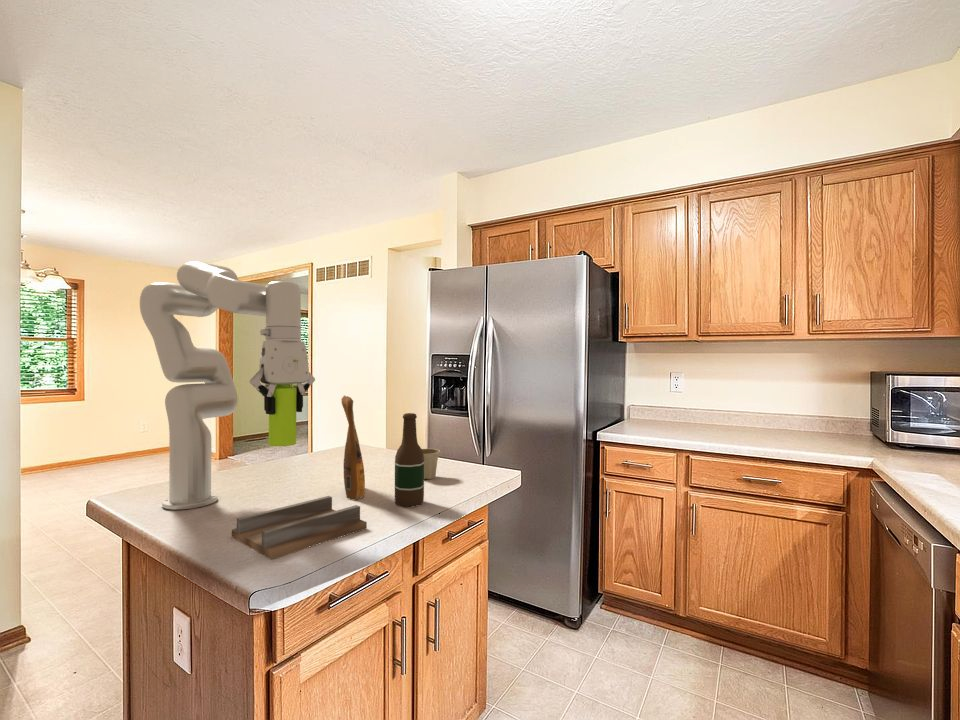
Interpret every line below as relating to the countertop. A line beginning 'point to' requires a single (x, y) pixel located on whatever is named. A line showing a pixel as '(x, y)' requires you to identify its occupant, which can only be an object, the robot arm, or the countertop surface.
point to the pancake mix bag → (352, 456)
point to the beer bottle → (409, 466)
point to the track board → (296, 526)
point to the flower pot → (430, 462)
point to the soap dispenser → (283, 416)
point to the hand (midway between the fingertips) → (284, 412)
